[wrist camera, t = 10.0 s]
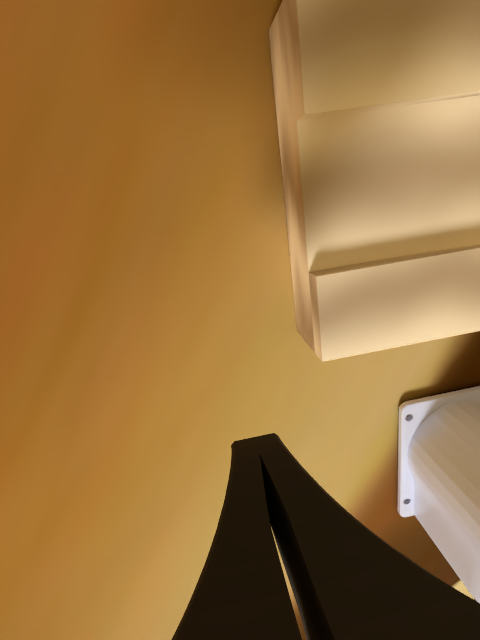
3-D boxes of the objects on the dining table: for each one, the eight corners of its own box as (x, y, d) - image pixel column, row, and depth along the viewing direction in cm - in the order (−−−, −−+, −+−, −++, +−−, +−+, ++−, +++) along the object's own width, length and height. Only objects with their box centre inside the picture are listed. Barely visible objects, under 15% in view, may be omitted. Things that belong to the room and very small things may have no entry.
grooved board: (555, 282, 21) (634, 300, 17) (297, 331, 20) (322, 361, 16) (603, -9, 16) (728, -72, 12) (268, 30, 15) (294, -27, 11)
